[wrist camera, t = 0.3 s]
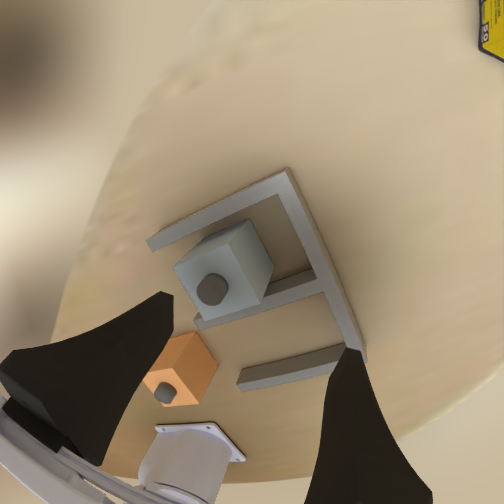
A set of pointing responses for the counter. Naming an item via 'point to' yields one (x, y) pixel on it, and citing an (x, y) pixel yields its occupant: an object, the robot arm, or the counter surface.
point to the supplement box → (492, 28)
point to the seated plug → (226, 271)
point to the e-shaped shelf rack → (280, 281)
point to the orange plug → (181, 371)
